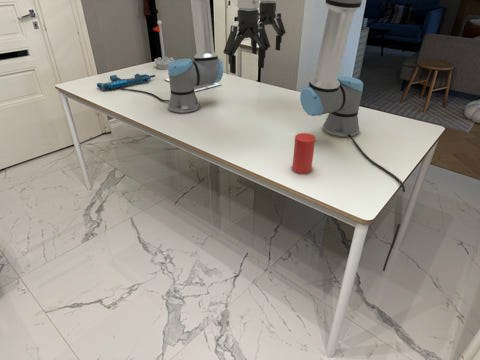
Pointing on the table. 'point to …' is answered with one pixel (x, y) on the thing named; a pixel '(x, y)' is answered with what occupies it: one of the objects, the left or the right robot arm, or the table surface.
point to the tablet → (202, 86)
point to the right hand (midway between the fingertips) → (266, 51)
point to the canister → (303, 153)
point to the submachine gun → (123, 81)
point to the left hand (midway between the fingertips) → (247, 70)
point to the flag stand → (165, 61)
